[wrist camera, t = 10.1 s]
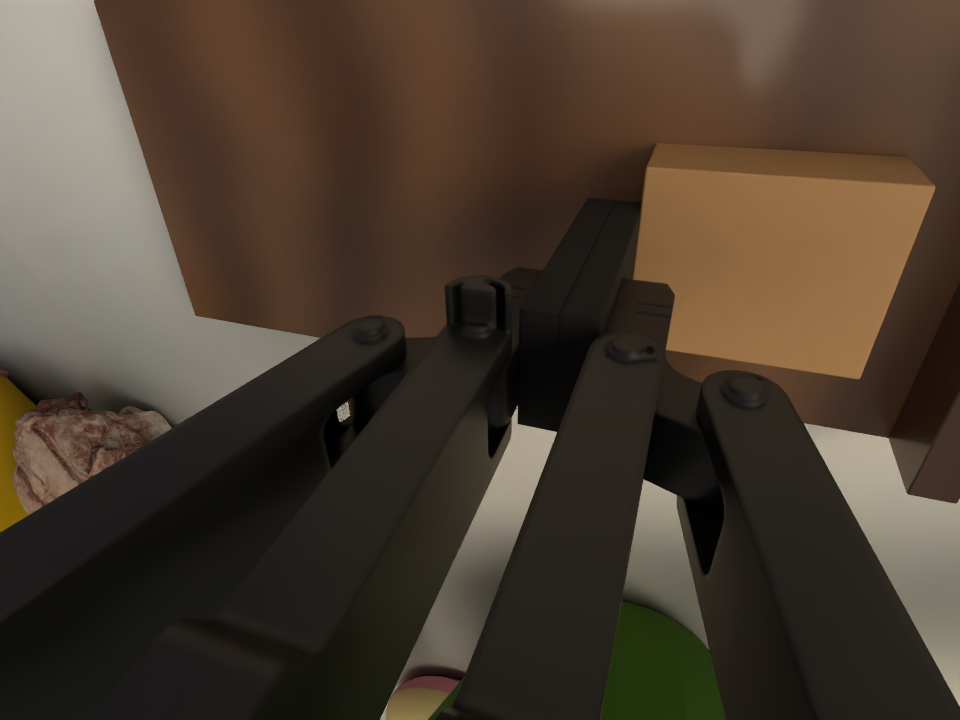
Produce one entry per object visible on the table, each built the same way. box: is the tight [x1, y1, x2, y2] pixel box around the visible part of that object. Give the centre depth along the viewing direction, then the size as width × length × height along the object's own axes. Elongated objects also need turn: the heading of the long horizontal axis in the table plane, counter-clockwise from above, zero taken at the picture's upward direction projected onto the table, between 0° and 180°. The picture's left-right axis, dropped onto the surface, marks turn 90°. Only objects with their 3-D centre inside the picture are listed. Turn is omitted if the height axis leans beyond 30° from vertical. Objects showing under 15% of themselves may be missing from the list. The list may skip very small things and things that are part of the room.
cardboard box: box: [632, 143, 935, 379], centre depth 16 cm, size 6×5×2 cm
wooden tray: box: [94, 0, 960, 438], centre depth 20 cm, size 28×12×2 cm, turn 91°
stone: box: [12, 391, 173, 514], centre depth 32 cm, size 15×8×10 cm
